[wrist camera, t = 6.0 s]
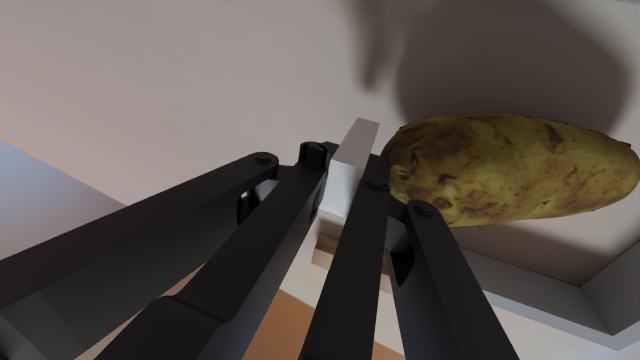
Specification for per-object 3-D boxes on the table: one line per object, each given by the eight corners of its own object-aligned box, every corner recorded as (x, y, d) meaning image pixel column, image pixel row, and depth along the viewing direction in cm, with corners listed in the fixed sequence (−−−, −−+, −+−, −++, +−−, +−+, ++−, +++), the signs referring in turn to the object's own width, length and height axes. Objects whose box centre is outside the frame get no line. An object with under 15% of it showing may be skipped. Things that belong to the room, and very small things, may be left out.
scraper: (316, 254, 28) (309, 270, 26) (323, 223, 26) (316, 239, 24) (437, 300, 26) (440, 322, 24) (460, 272, 23) (465, 294, 21)
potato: (516, 228, 19) (571, 327, 13) (369, 158, 20) (350, 216, 14) (625, 140, 15) (802, 224, 8) (427, 54, 15) (440, 66, 9)
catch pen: (523, -46, 12) (565, -76, 9) (983, 11, 9) (1292, -4, 6) (393, 235, 23) (390, 267, 20) (585, 300, 20) (618, 351, 17)
